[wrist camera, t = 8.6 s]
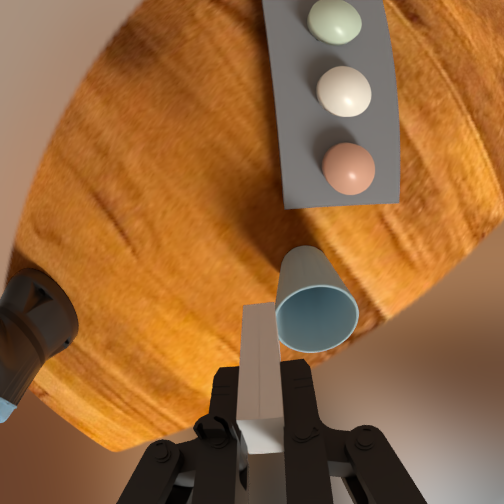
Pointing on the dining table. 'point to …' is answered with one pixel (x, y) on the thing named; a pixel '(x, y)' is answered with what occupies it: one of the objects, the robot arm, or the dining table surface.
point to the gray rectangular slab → (317, 118)
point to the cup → (312, 303)
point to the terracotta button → (348, 168)
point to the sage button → (334, 22)
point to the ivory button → (343, 92)
